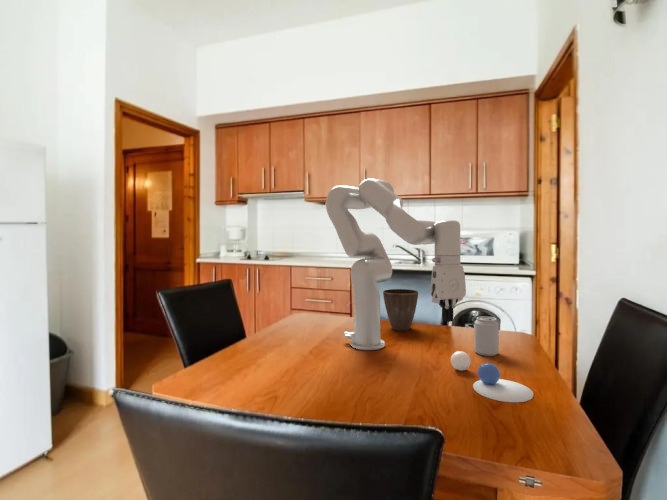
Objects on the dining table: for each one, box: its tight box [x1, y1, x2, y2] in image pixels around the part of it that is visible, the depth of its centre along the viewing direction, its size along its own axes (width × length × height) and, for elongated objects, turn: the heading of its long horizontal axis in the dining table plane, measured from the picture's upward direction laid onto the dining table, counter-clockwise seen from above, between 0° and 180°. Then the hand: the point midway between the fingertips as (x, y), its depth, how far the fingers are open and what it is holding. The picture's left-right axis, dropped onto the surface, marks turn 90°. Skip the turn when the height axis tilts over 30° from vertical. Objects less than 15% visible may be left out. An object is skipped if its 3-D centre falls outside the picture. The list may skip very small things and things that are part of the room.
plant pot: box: [382, 288, 419, 331], centre depth 158 cm, size 15×15×16 cm
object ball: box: [477, 362, 501, 384], centre depth 99 cm, size 6×6×6 cm
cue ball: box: [450, 350, 471, 372], centre depth 109 cm, size 6×6×6 cm
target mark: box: [472, 378, 534, 403], centre depth 95 cm, size 14×14×1 cm
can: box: [474, 315, 500, 357], centre depth 124 cm, size 8×8×12 cm
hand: (447, 320), depth 114 cm, fingers closed
